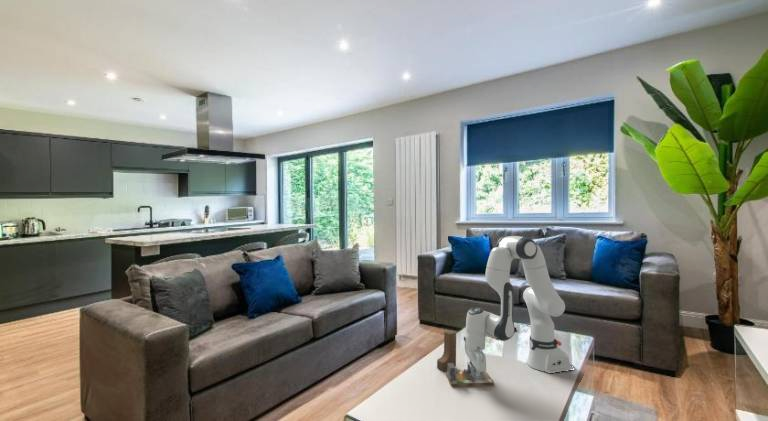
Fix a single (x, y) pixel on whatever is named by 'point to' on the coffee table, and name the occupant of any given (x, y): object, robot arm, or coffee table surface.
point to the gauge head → (473, 372)
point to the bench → (466, 378)
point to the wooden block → (448, 351)
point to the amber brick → (460, 376)
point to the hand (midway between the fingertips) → (475, 372)
